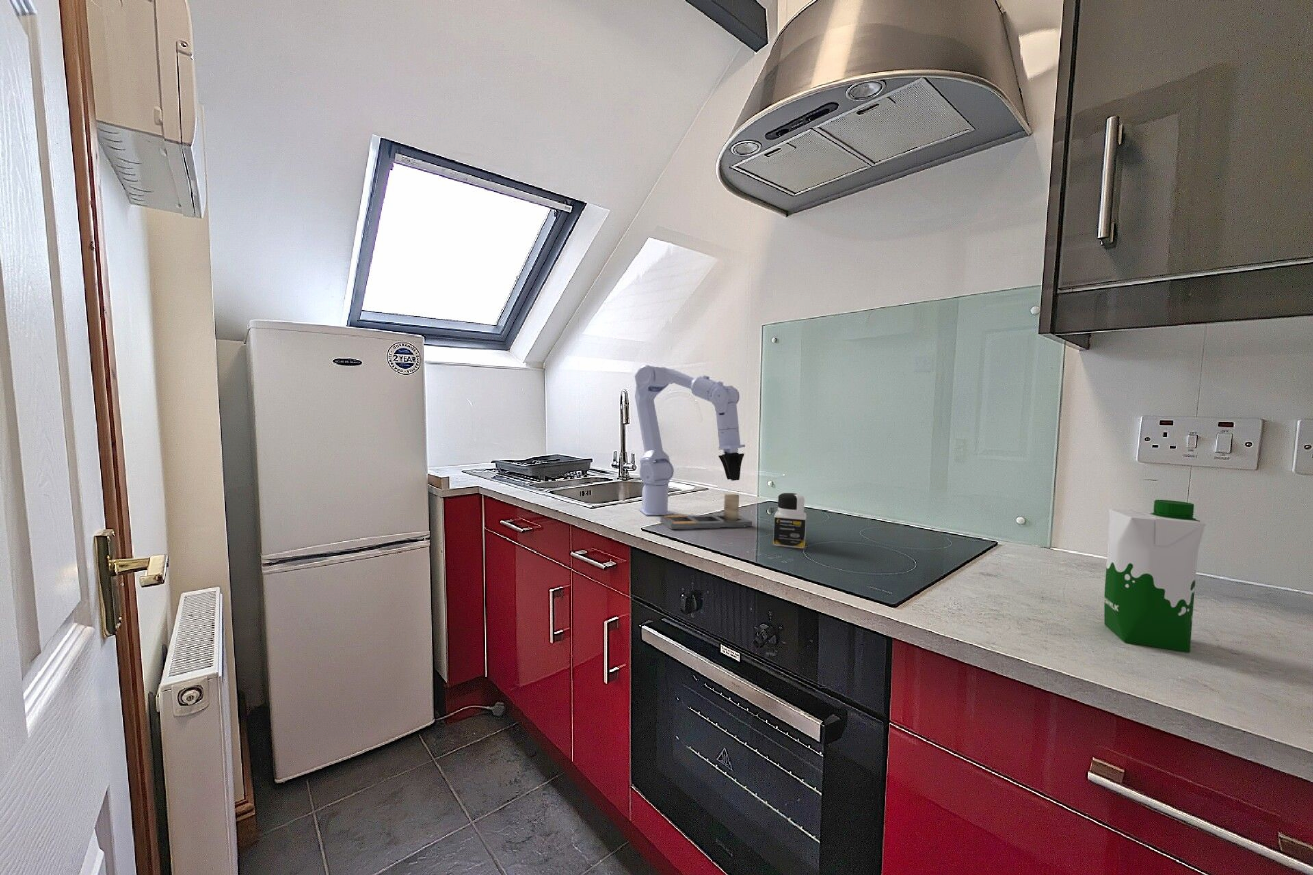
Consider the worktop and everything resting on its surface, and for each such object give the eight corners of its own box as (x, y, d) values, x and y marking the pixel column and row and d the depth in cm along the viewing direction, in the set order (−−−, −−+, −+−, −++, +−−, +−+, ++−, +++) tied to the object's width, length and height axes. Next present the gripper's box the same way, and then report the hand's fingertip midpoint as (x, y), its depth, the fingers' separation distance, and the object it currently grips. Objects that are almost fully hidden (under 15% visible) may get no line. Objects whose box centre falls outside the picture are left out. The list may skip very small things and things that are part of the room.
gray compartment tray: (660, 521, 145) (660, 515, 145) (736, 519, 151) (736, 513, 151) (671, 529, 136) (671, 523, 135) (751, 526, 142) (752, 520, 142)
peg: (721, 522, 147) (722, 494, 147) (734, 521, 148) (735, 493, 148) (727, 525, 143) (728, 496, 143) (740, 524, 144) (741, 496, 144)
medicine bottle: (772, 545, 122) (775, 494, 122) (775, 538, 129) (777, 490, 129) (804, 548, 120) (806, 497, 120) (805, 541, 127) (807, 492, 127)
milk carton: (1202, 657, 70) (1215, 508, 69) (1117, 643, 73) (1128, 502, 72) (1168, 632, 78) (1179, 499, 77) (1093, 621, 81) (1102, 493, 80)
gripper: (747, 426, 134) (752, 479, 134) (738, 429, 149) (743, 477, 148) (720, 429, 134) (725, 482, 134) (714, 432, 149) (718, 479, 148)
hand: (733, 479), depth 141 cm, fingers open, 7 cm apart
